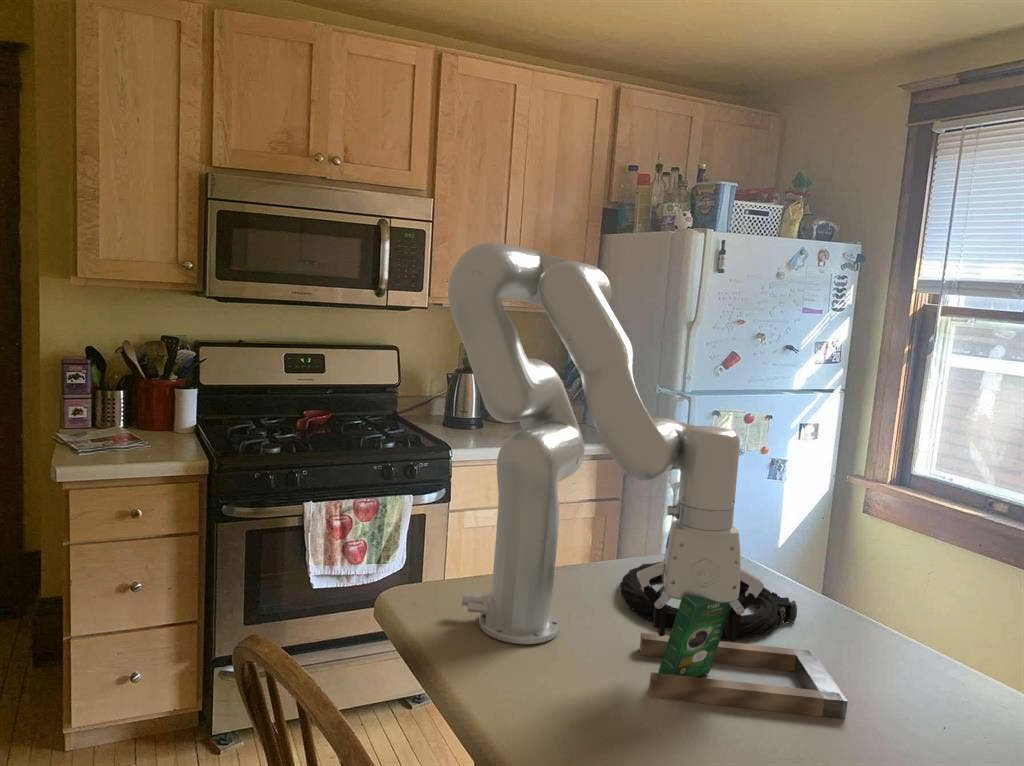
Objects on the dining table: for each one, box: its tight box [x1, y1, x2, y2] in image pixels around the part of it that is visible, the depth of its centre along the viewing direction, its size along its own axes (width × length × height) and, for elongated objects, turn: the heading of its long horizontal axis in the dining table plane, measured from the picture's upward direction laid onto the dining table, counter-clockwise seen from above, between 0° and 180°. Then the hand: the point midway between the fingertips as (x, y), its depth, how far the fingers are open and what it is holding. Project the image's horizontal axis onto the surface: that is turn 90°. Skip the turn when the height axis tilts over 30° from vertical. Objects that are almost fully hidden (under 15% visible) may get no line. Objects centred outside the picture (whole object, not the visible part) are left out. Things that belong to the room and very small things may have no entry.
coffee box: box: [657, 594, 731, 678], centre depth 106 cm, size 8×3×13 cm, turn 122°
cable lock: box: [619, 561, 798, 640], centre depth 133 cm, size 28×4×30 cm
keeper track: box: [639, 632, 849, 720], centre depth 108 cm, size 26×14×2 cm, turn 87°
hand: (695, 634), depth 107 cm, fingers open, 9 cm apart
